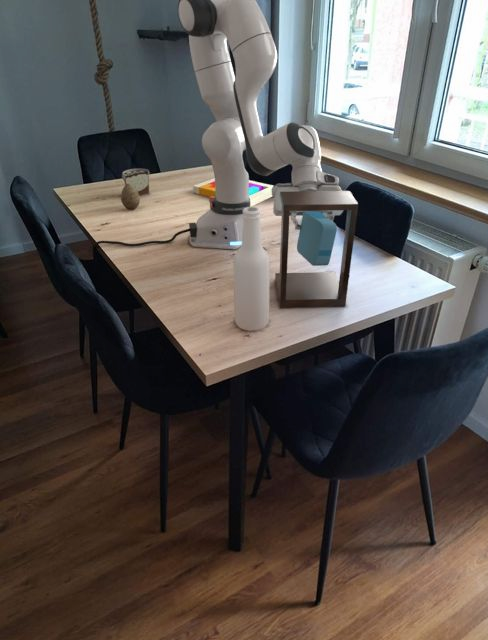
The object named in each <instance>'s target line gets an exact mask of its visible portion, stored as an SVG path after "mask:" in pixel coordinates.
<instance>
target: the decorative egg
mask: <svg viewBox="0 0 488 640" xmlns="http://www.w3.org/2000/svg"><path fill="white" fill-rule="evenodd" d="M120 201H121V204H122V206H123V207H124V208H125V209H127V210H130V211H133V210H135V209H137V208H138V207H139V205H140V202H141V196H140V197H139V194H138V192H137V190H136V189H135V188H134V187H133V186H132V185H131V184H126V185H125V184H124V187H123V188H122V190H121V193H120Z"/></svg>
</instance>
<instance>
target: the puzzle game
mask: <svg viewBox="0 0 488 640" xmlns="http://www.w3.org/2000/svg"><path fill="white" fill-rule="evenodd" d="M273 186H274V185H273V184H268V183H264V182H258V181H255V180H250V179H249V198H250V202H251V207H254V206H256V205H257V204H260V203H262V202H264V201H266V200H268V199H271V198H273V196H272V187H273ZM192 187H193V193H194V194H196V195H201V196H205V197H208V198H209V197H210V196H214V197H216V190H215V177H214V178H210V179H208V180H206V181H205V180H204V181H203V182H200V183H197V184H195V185H192ZM276 187H277V186H276Z"/></svg>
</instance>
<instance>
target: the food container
mask: <svg viewBox="0 0 488 640" xmlns="http://www.w3.org/2000/svg"><path fill="white" fill-rule="evenodd" d="M150 176H151V172H150V170H149V169H148V168H130V169H126V170H123V171H122V174H121V179H122V180H123V181H124V186H125V185H126V184H131V185H132V186H133V187H134V188H135V189H136V190H137V192H138V194H139V197H140V198H141V197H144V196H148V195H150Z"/></svg>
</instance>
